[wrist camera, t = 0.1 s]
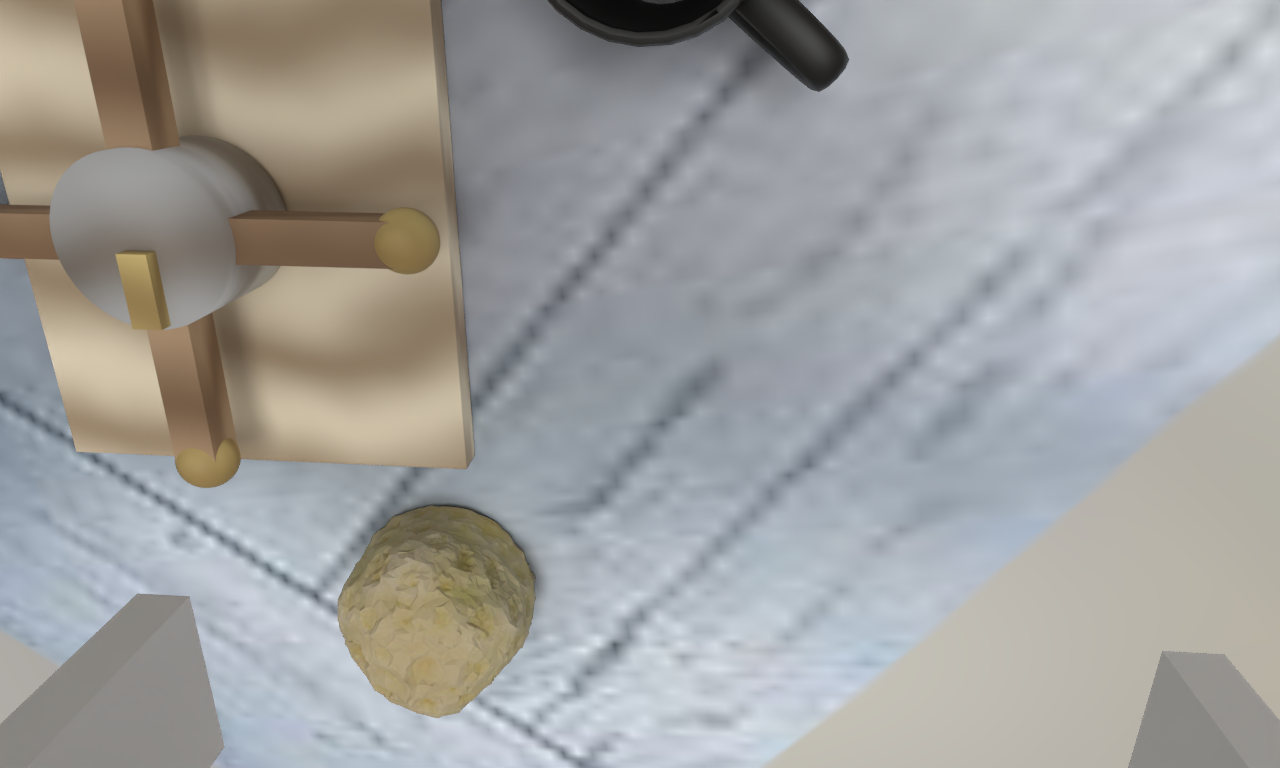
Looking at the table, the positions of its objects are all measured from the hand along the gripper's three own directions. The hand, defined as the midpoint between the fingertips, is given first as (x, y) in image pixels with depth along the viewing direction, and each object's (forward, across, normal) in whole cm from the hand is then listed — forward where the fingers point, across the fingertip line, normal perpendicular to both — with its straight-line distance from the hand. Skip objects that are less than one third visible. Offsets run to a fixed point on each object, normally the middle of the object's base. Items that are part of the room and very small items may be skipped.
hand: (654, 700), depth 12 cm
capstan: (+26, -21, +1) cm, 34 cm away
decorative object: (+28, -12, -18) cm, 36 cm away
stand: (+28, -21, +3) cm, 35 cm away
